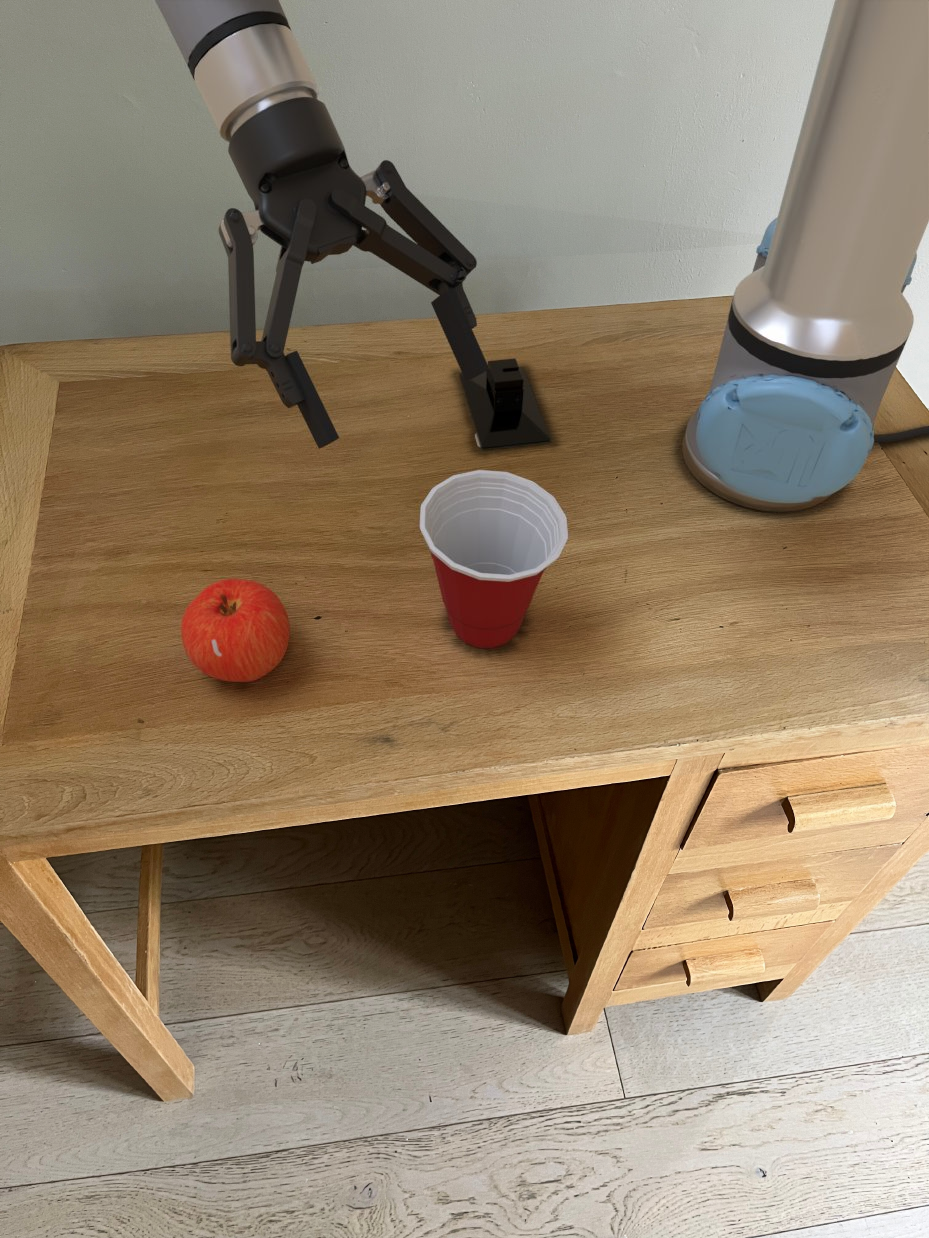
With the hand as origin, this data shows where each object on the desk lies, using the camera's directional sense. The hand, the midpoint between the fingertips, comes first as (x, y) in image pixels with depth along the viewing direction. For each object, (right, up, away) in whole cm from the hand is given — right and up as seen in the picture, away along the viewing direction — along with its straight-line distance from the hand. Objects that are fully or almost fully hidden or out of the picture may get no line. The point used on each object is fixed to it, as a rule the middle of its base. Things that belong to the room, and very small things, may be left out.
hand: (406, 408), depth 64 cm
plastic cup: (+6, -16, +7) cm, 18 cm away
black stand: (+8, +6, +24) cm, 26 cm away
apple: (-13, -19, +4) cm, 23 cm away
